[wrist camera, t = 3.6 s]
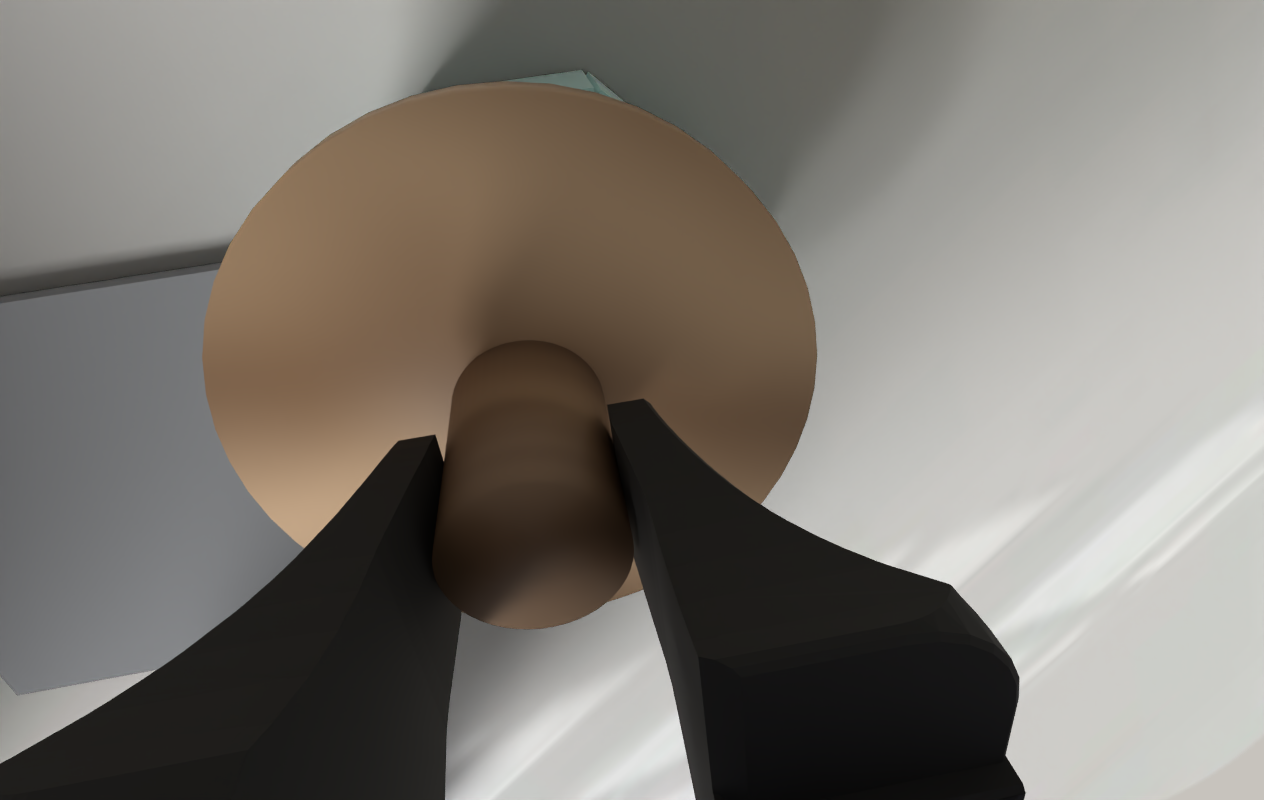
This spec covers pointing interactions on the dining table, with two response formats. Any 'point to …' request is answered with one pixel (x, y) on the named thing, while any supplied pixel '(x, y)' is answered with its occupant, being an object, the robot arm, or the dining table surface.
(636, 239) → the lid
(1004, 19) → the dining table surface
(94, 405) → the mat
